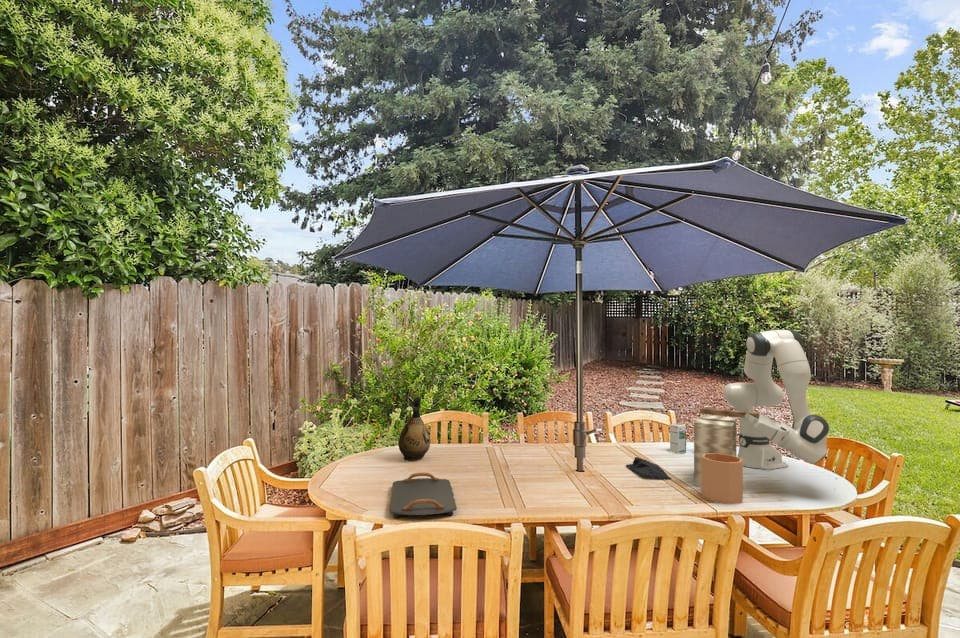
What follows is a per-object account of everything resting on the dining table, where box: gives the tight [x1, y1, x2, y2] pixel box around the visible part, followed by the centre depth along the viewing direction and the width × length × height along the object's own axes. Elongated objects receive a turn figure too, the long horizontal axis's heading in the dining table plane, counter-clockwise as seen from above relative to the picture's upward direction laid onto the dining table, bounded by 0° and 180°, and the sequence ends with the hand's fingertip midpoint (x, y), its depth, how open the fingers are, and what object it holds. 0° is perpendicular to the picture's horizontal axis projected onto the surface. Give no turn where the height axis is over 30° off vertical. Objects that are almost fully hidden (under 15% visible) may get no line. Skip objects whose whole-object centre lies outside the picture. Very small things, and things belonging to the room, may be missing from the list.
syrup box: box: [669, 423, 687, 455], centre depth 258 cm, size 6×6×14 cm
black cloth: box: [625, 456, 672, 481], centre depth 222 cm, size 15×22×5 cm
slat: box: [699, 407, 760, 419], centre depth 207 cm, size 22×4×2 cm, turn 58°
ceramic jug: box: [398, 395, 431, 462], centre depth 242 cm, size 17×15×30 cm
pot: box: [700, 453, 744, 505], centre depth 190 cm, size 14×14×15 cm
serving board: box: [389, 472, 458, 519], centre depth 183 cm, size 39×23×6 cm, turn 8°
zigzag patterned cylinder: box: [693, 414, 738, 487], centre depth 209 cm, size 14×22×26 cm, turn 148°
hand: (745, 413), depth 204 cm, fingers closed on slat, 4 cm apart
